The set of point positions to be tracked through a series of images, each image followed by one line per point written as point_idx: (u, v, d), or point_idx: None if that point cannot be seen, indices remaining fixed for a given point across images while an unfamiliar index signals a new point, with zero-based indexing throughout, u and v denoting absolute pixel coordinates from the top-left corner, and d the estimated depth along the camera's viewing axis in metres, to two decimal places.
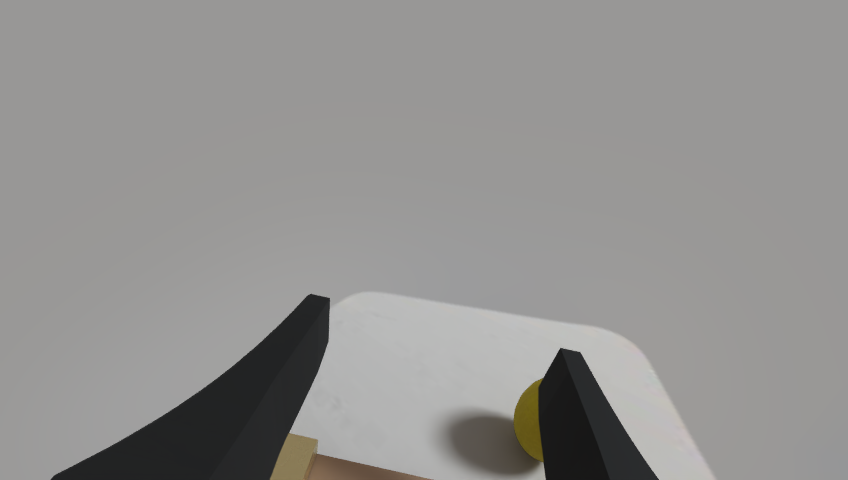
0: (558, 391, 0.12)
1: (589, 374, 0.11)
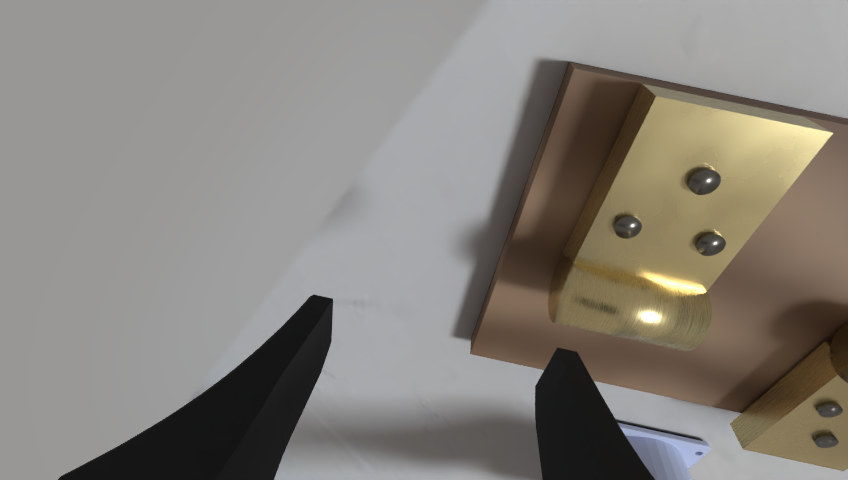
0: (555, 390, 0.12)
1: (586, 373, 0.11)
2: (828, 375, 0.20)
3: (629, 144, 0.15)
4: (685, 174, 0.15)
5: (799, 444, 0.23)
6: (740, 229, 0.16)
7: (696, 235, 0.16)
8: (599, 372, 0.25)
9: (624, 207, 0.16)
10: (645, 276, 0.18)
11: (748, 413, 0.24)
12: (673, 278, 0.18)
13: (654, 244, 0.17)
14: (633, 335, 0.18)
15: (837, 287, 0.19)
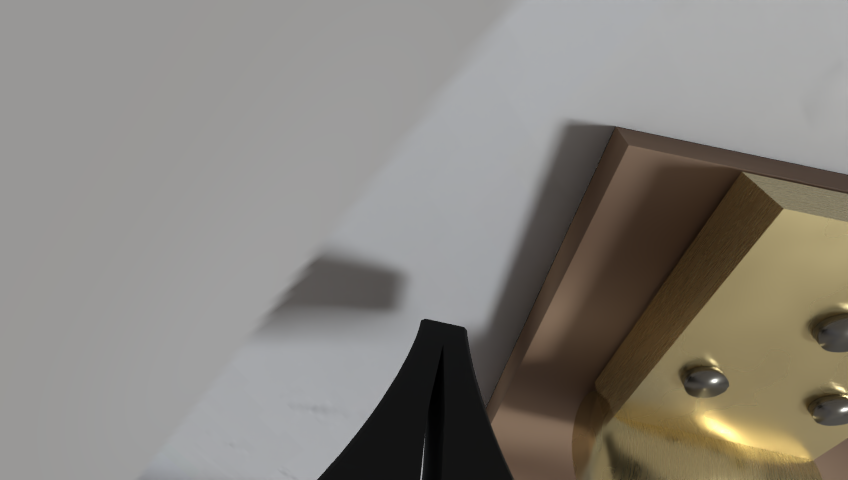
0: (437, 365, 0.12)
1: (463, 347, 0.11)
2: None
3: (721, 273, 0.09)
4: (812, 320, 0.09)
5: None
6: None
7: (812, 396, 0.11)
8: None
9: (702, 356, 0.10)
10: (722, 438, 0.12)
11: None
12: (765, 442, 0.12)
13: (742, 403, 0.11)
14: None
15: None
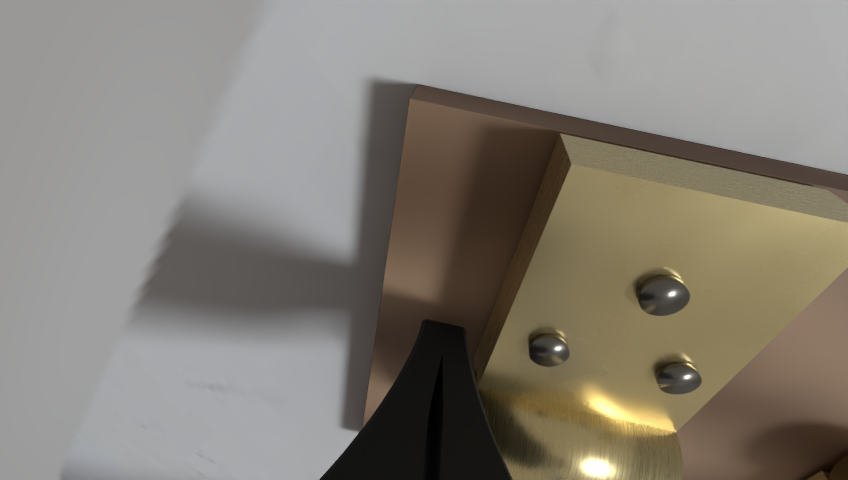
0: None
1: (462, 346, 0.11)
2: None
3: (538, 235, 0.09)
4: (632, 283, 0.09)
5: None
6: (724, 360, 0.10)
7: (656, 364, 0.10)
8: None
9: (541, 323, 0.10)
10: (584, 410, 0.12)
11: None
12: (626, 414, 0.12)
13: (593, 372, 0.11)
14: None
15: (839, 408, 0.13)
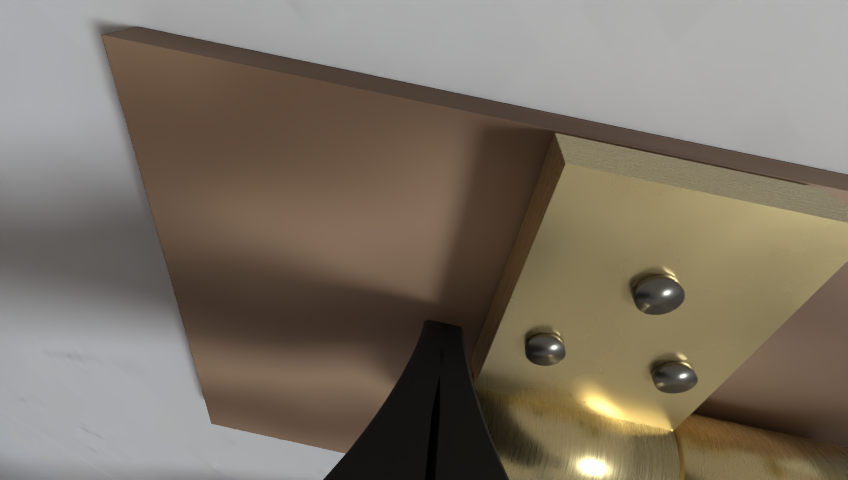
0: None
1: (459, 346, 0.11)
2: None
3: (533, 234, 0.09)
4: (627, 282, 0.09)
5: None
6: (720, 359, 0.10)
7: (651, 363, 0.10)
8: None
9: (537, 323, 0.10)
10: (581, 409, 0.12)
11: None
12: (622, 413, 0.12)
13: (589, 371, 0.11)
14: None
15: None
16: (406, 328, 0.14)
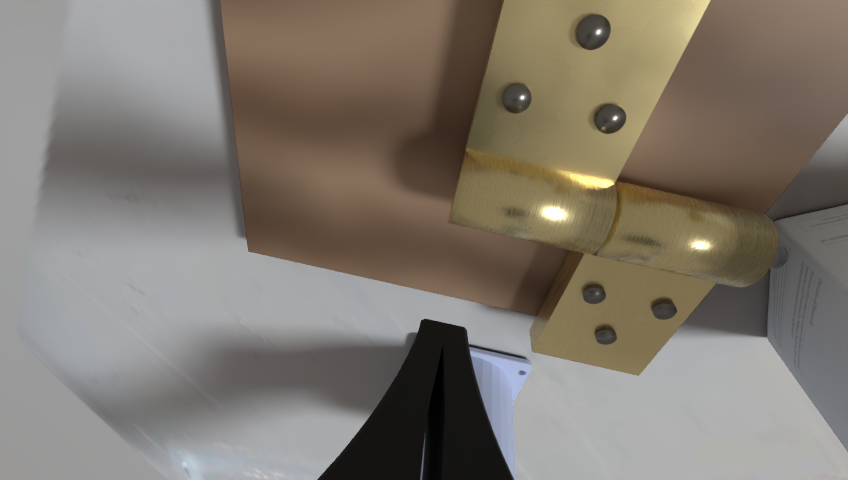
0: (437, 365, 0.12)
1: (463, 347, 0.11)
2: None
3: None
4: (572, 24, 0.13)
5: (584, 343, 0.21)
6: (641, 98, 0.14)
7: (594, 108, 0.14)
8: (382, 270, 0.23)
9: (511, 73, 0.14)
10: (545, 165, 0.16)
11: (539, 313, 0.22)
12: (576, 167, 0.16)
13: (550, 122, 0.15)
14: (531, 231, 0.16)
15: None
16: (414, 124, 0.18)
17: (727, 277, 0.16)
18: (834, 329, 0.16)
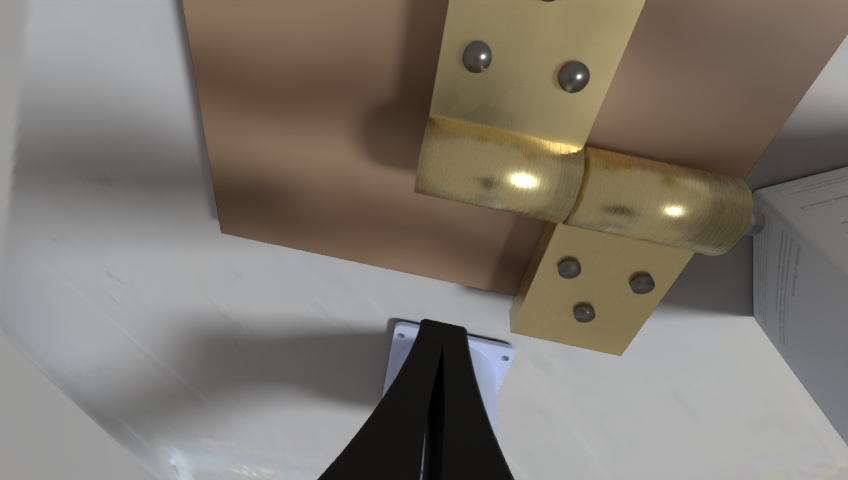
0: None
1: (463, 347, 0.11)
2: (555, 223, 0.18)
3: None
4: None
5: (562, 321, 0.21)
6: (605, 54, 0.14)
7: (557, 66, 0.14)
8: (357, 250, 0.22)
9: (469, 30, 0.14)
10: (511, 129, 0.15)
11: (518, 293, 0.22)
12: (543, 131, 0.15)
13: (513, 83, 0.14)
14: (498, 198, 0.15)
15: None
16: (379, 93, 0.17)
17: (701, 243, 0.15)
18: (815, 296, 0.16)
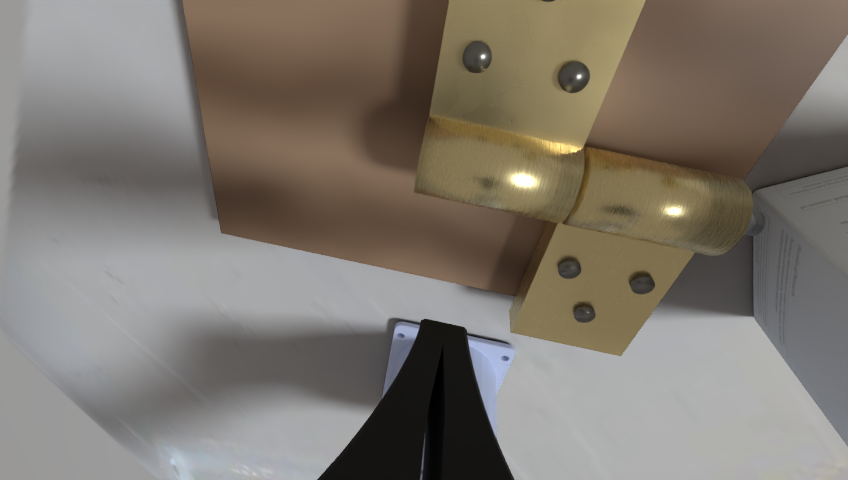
0: None
1: (463, 347, 0.11)
2: (555, 223, 0.18)
3: None
4: None
5: (562, 321, 0.21)
6: (605, 54, 0.14)
7: (557, 66, 0.14)
8: (357, 250, 0.22)
9: (469, 30, 0.14)
10: (511, 129, 0.15)
11: (518, 293, 0.22)
12: (543, 131, 0.15)
13: (513, 83, 0.14)
14: (498, 198, 0.15)
15: None
16: (379, 93, 0.17)
17: (701, 243, 0.15)
18: (815, 296, 0.16)
